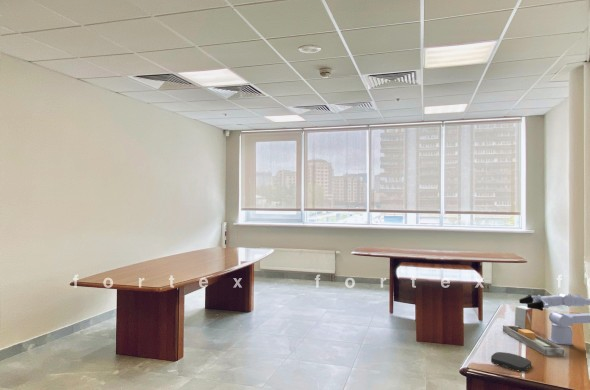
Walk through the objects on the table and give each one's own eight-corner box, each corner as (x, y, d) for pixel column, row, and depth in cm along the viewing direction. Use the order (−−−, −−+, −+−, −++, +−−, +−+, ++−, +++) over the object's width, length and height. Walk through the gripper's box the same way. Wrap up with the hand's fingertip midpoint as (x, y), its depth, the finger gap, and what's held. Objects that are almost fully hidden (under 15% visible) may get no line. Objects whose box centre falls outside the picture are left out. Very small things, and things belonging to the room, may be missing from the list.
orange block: (528, 334, 221) (528, 329, 221) (535, 338, 215) (535, 333, 215) (517, 334, 221) (517, 329, 221) (524, 338, 215) (524, 332, 215)
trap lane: (519, 332, 232) (519, 326, 232) (563, 356, 196) (564, 349, 197) (502, 331, 232) (503, 325, 232) (544, 355, 196) (545, 348, 196)
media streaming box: (500, 355, 193) (500, 349, 193) (533, 365, 182) (533, 359, 182) (488, 362, 183) (488, 356, 183) (522, 374, 172) (523, 367, 172)
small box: (524, 331, 235) (526, 309, 235) (514, 328, 240) (515, 306, 240) (531, 329, 239) (532, 308, 240) (521, 326, 245) (522, 305, 245)
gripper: (539, 290, 226) (516, 292, 226) (556, 298, 211) (530, 300, 211) (540, 302, 226) (516, 304, 226) (557, 311, 212) (531, 313, 212)
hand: (523, 303), depth 219 cm, fingers open, 7 cm apart
